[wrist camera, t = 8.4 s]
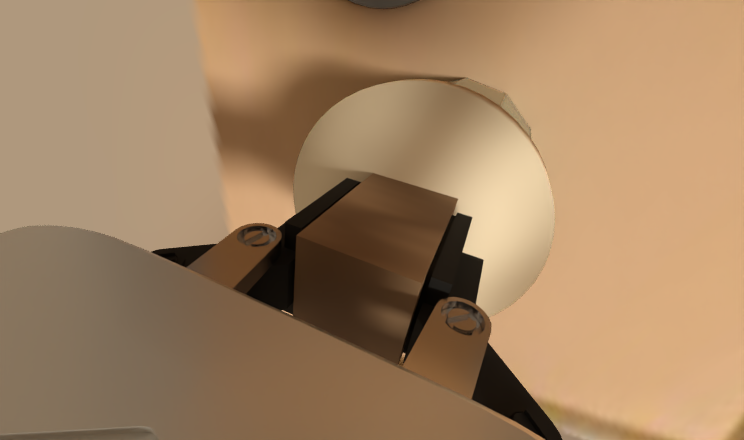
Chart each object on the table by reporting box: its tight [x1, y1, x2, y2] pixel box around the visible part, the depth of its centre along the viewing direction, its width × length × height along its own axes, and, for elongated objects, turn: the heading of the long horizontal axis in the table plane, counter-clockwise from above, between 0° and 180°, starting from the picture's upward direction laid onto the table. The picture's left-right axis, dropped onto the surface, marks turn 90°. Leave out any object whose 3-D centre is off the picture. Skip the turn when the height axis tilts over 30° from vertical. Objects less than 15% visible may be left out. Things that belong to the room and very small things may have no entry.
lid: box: [293, 79, 555, 364], centre depth 11 cm, size 10×10×6 cm
